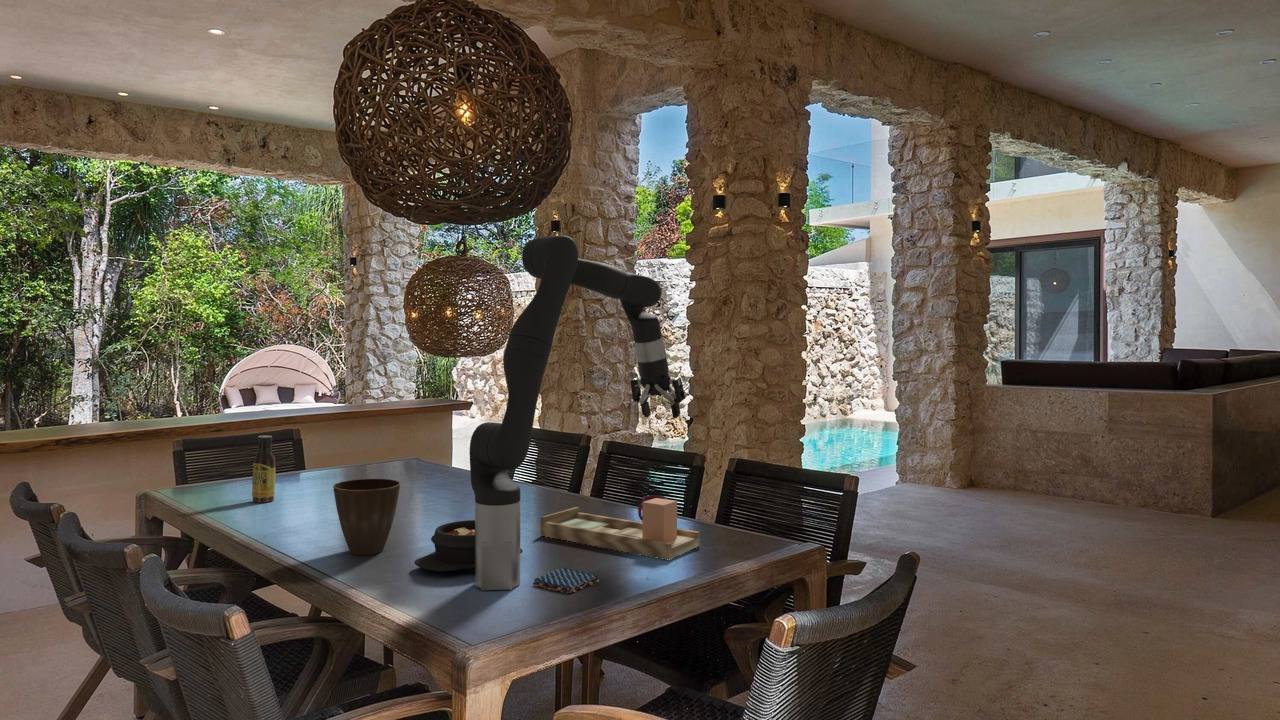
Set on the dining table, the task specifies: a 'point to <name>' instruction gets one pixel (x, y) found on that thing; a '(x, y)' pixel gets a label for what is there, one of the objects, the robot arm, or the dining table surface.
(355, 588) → the dining table surface
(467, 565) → the casserole
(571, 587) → the woven mat
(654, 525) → the terracotta block
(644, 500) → the mug
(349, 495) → the plant pot
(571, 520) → the tray
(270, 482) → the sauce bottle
